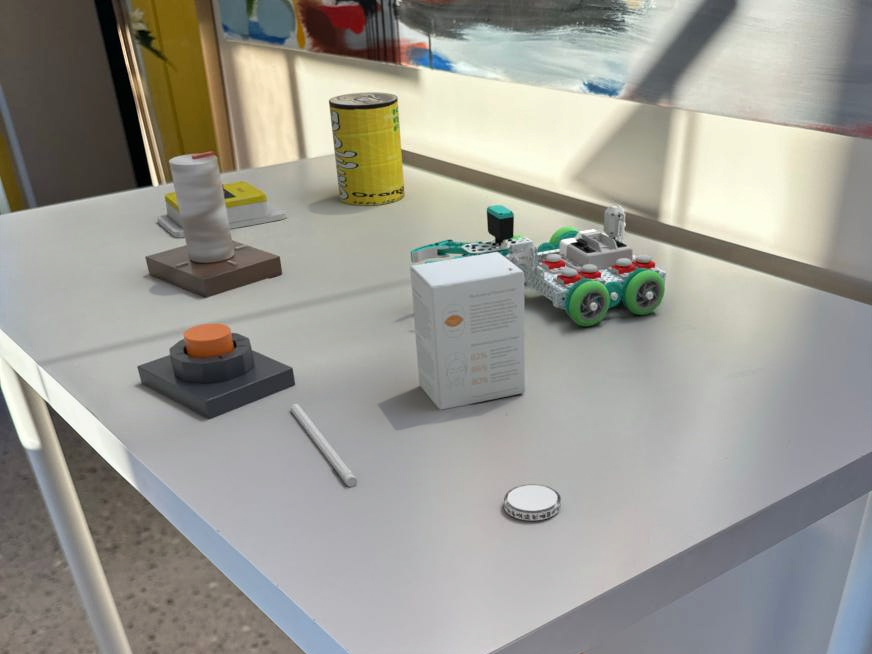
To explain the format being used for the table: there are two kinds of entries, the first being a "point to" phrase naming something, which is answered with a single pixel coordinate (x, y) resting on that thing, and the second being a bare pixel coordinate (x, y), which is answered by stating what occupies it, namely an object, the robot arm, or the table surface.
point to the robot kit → (570, 265)
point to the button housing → (216, 378)
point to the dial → (202, 207)
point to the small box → (469, 329)
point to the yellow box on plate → (228, 208)
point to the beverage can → (367, 148)
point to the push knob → (208, 340)
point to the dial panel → (214, 269)
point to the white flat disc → (532, 502)
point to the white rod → (324, 446)
